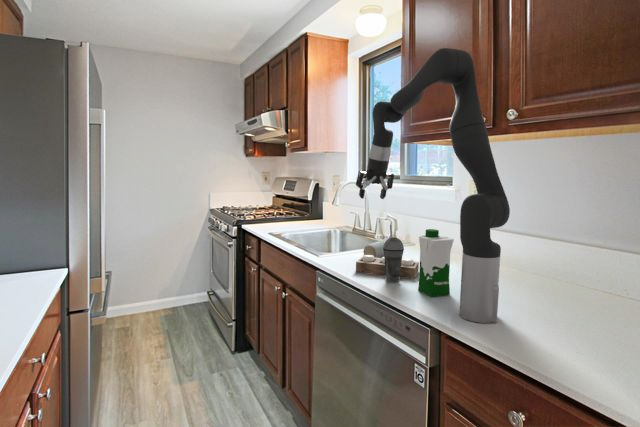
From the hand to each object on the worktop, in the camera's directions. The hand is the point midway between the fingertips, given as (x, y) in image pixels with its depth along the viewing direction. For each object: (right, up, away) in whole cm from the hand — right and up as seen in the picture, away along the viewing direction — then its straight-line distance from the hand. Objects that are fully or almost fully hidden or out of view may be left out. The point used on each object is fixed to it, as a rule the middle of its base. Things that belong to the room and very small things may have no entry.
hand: (371, 198), depth 149 cm
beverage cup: (+6, -30, -13) cm, 33 cm away
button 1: (-1, -25, +1) cm, 26 cm away
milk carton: (+16, -32, -25) cm, 44 cm away
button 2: (+13, -26, -5) cm, 30 cm away
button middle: (+6, -26, -2) cm, 27 cm away
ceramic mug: (+5, -26, +17) cm, 32 cm away
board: (+6, -28, -2) cm, 29 cm away
